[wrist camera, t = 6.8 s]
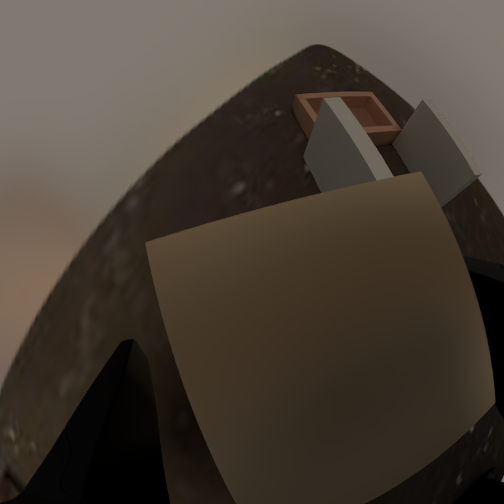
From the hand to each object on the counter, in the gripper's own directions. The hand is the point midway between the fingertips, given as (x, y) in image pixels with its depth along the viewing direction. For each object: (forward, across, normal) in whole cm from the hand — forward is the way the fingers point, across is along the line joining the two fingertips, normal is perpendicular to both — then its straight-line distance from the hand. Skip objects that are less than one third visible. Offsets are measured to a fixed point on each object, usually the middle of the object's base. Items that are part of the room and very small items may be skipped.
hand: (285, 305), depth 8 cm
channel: (+10, -12, +1) cm, 16 cm away
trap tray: (+15, -12, -3) cm, 19 cm away
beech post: (+4, 0, +6) cm, 8 cm away
